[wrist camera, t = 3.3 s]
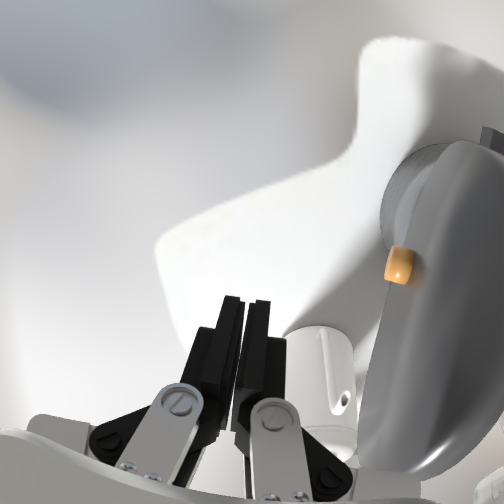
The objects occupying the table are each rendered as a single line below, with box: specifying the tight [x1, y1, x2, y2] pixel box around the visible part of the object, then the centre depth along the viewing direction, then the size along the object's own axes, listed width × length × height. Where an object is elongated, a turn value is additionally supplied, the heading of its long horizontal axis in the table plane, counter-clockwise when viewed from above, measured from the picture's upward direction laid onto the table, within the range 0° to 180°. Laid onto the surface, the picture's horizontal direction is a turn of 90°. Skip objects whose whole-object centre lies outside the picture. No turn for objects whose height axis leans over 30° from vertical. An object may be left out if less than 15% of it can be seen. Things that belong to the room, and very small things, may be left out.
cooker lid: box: [357, 140, 504, 481], centre depth 13 cm, size 17×17×3 cm
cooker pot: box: [380, 127, 504, 253], centre depth 24 cm, size 16×21×11 cm
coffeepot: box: [284, 326, 358, 462], centre depth 31 cm, size 11×25×19 cm, turn 0°
